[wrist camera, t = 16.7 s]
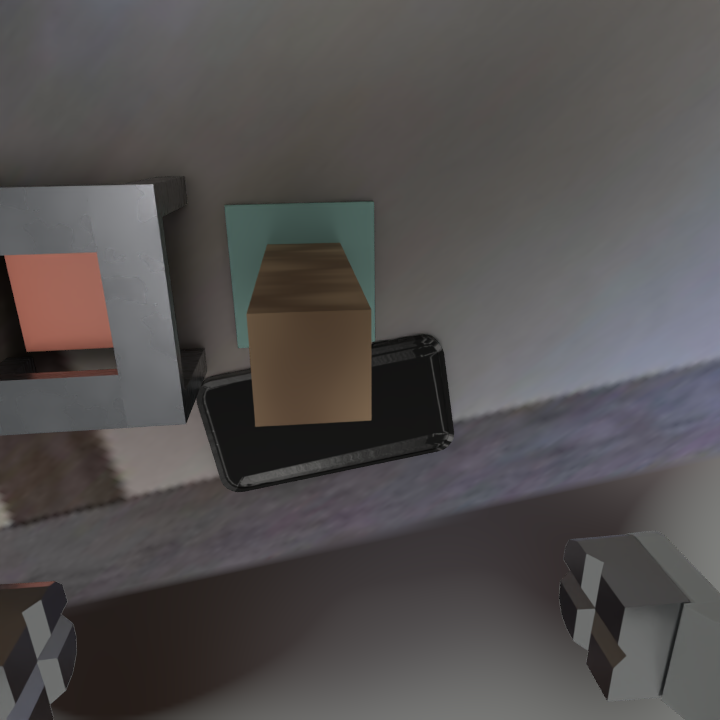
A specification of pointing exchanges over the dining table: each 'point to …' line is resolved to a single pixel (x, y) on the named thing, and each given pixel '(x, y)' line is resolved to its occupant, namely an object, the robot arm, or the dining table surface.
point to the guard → (123, 302)
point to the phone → (338, 439)
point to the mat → (297, 226)
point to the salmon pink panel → (60, 301)
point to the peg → (309, 338)
